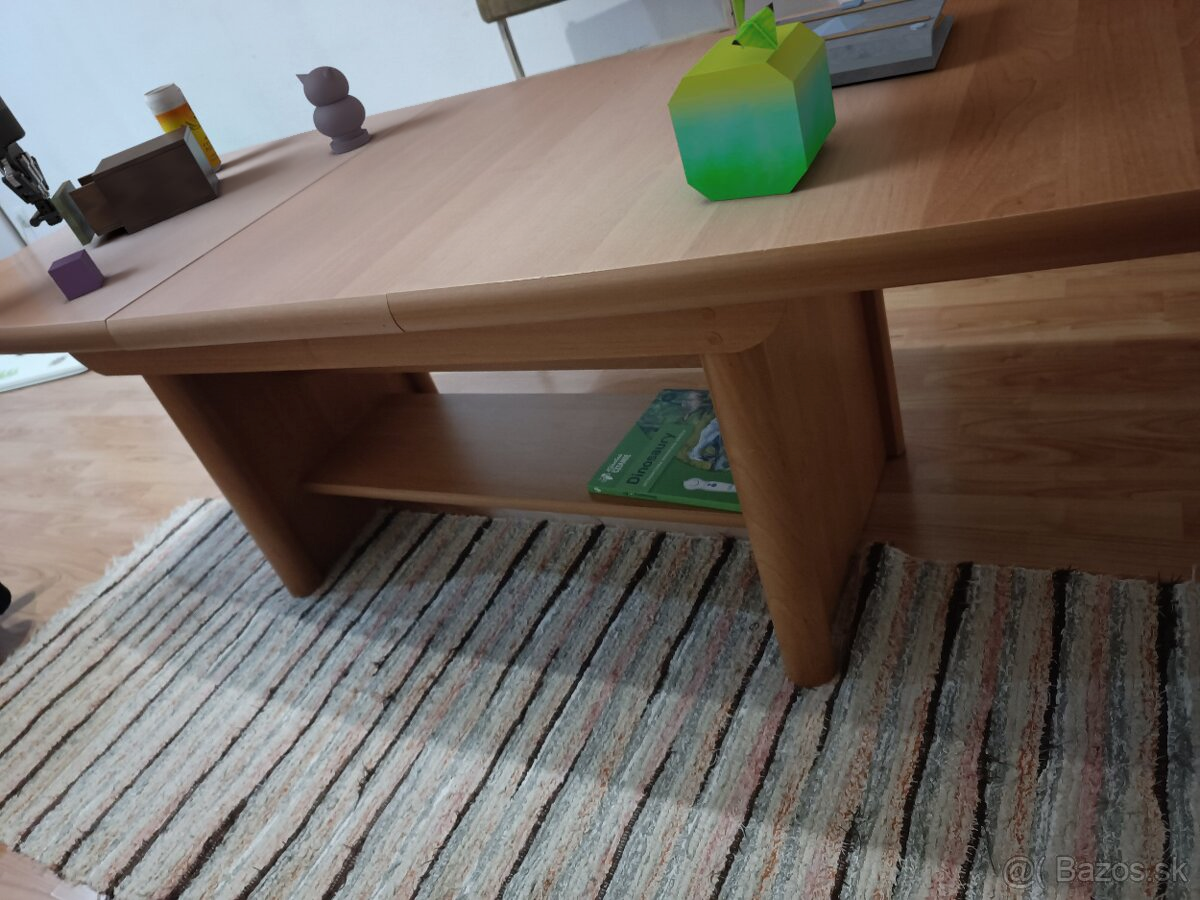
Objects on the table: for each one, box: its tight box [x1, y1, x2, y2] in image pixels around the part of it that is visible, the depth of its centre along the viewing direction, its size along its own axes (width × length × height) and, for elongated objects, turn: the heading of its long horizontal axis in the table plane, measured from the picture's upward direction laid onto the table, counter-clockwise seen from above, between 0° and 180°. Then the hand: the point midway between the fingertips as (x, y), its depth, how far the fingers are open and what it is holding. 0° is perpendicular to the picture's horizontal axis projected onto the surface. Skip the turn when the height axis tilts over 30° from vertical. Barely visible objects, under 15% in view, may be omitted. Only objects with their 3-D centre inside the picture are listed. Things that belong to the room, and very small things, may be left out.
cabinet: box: [91, 125, 220, 235], centre depth 139 cm, size 15×13×10 cm
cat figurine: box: [295, 65, 372, 155], centre depth 134 cm, size 8×8×12 cm
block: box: [47, 248, 105, 302], centre depth 116 cm, size 4×4×4 cm
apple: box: [667, 0, 837, 202], centre depth 74 cm, size 11×10×15 cm
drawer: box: [28, 171, 124, 247], centre depth 137 cm, size 19×11×8 cm, turn 111°
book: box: [775, 0, 955, 87], centre depth 94 cm, size 21×16×5 cm
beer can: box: [143, 82, 222, 173], centre depth 151 cm, size 6×6×15 cm
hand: (57, 222), depth 137 cm, fingers closed
